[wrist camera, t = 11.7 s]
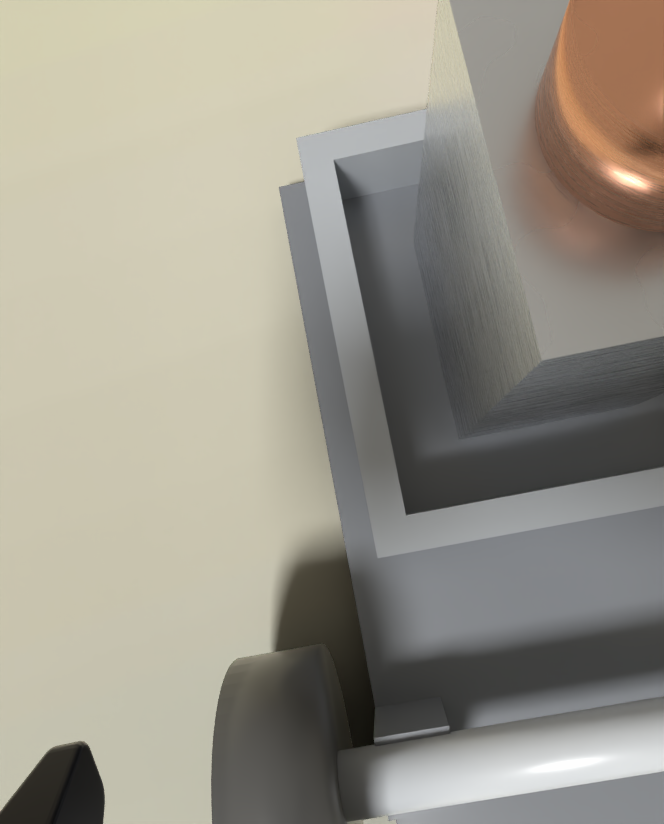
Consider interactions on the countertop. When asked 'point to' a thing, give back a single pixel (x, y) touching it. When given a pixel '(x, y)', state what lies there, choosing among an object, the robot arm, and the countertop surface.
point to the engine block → (544, 208)
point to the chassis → (452, 562)
